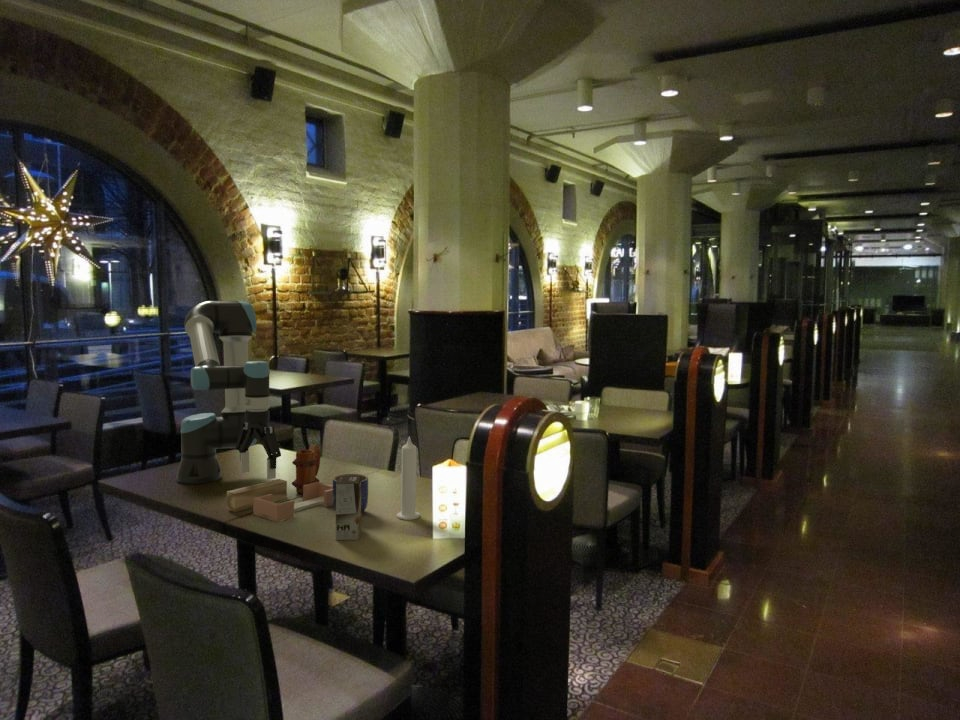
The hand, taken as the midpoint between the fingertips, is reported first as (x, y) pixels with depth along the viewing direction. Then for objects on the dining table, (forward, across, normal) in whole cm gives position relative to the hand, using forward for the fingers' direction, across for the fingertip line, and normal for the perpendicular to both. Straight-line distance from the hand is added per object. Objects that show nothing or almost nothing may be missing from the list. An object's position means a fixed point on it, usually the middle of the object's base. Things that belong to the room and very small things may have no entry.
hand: (257, 475), depth 223 cm
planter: (+10, +30, +12) cm, 33 cm away
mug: (+9, 0, +21) cm, 23 cm away
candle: (+10, +46, +21) cm, 51 cm away
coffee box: (+10, +44, -2) cm, 45 cm away
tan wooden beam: (+10, 0, 0) cm, 10 cm away
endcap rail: (+9, +14, +5) cm, 17 cm away
